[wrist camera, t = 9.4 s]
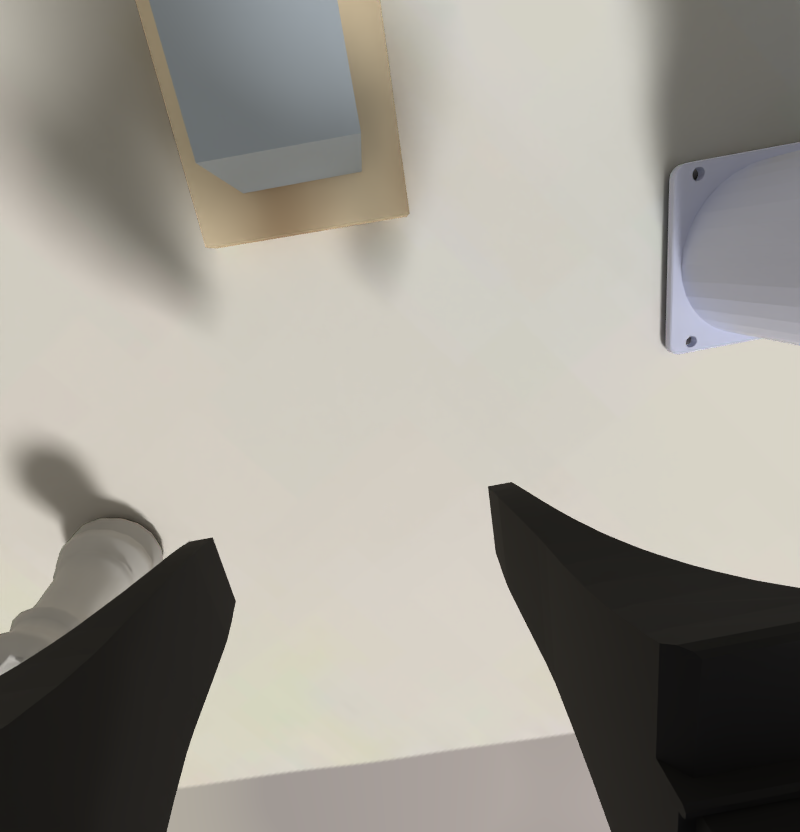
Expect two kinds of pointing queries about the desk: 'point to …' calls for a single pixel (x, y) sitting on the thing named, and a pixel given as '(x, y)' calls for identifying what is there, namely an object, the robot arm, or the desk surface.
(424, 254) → the desk surface
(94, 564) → the rook chess piece
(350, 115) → the slate block
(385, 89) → the maple block
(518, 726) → the desk surface
